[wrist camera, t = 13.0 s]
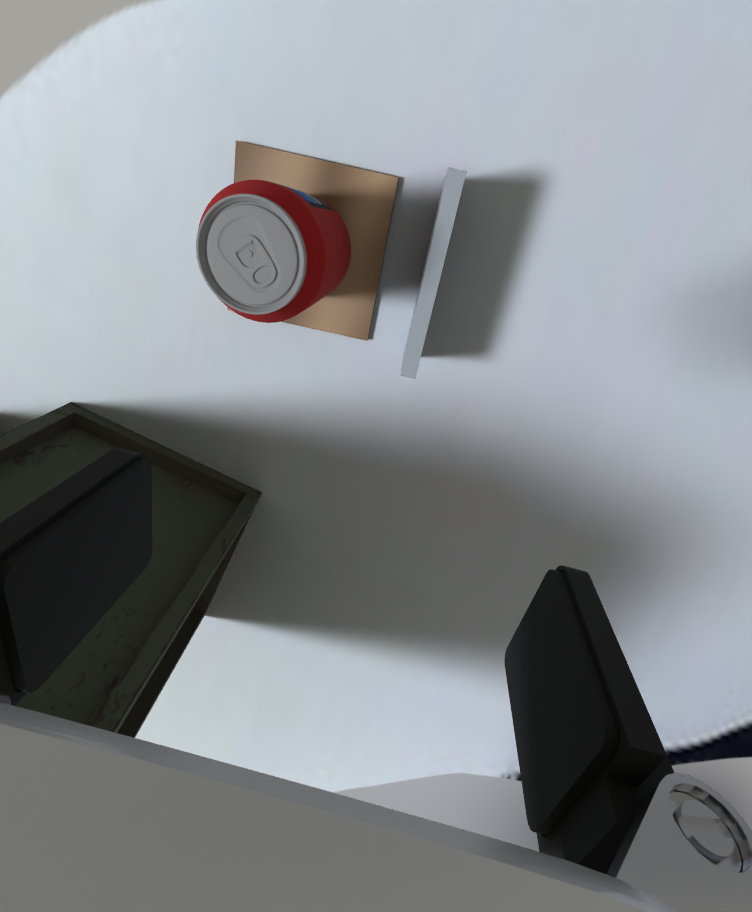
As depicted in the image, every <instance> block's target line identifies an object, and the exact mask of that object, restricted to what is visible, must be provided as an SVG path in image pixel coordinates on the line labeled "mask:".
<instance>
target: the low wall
mask: <svg viewBox="0 0 752 912" xmlns="http://www.w3.org/2000/svg"><path fill="white" fill-rule="evenodd" d="M466 172H467V171H462V170H458V169H453V168H448V171H447V173H446V176H445V178H444V182H443V186H442V190H441V195H440V199H439V203H438V208H437V212H436V216H435V221H434V225H433V229H432V234H431V238H430V243H429V247H428V251H427V256H426V260H425V264H424V269H423V273H422V277H421V282H420V286H419V290H418V295H417V299H416V303H415V308H414V312H413V316H412V321H411V325H410V329H409V334H408V338H407V342H406V347H405V351H404V356H403V363H402V370H401V376H404V377H409V378H413V379H415V378H416V374H417V370H418V366H419V362H420V358H421V354H422V350H423V346H424V341H425V337H426V333H427V329H428V325H429V321H430V317H431V313H432V309H433V305H434V301H435V297H436V293H437V289H438V285H439V281H440V277H441V273H442V269H443V265H444V261H445V257H446V253H447V249H448V245H449V241H450V237H451V233H452V229H453V225H454V221H455V217H456V213H457V209H458V204H459V200H460V196H461V192H462V188H463V184H464V180H465V176H466Z"/></svg>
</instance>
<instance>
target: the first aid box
mask: <svg viewBox="0 0 752 912" xmlns="http://www.w3.org/2000/svg"><path fill="white" fill-rule="evenodd" d="M114 448H122V449H125V450H129V451H133V452H137V453H140V454H143V455H144V456H145V458H146V462H149V463H150V464H151V467H152V549H153V551H152V557H151V560H150V562H149V564H148V566H147V567H146V568H145V570H144V571H143V572H142V573H141V574H140V575H139V576H138V577H137V579H136V580H135V581H134V582H133V583H132V584H131V585H130V586H129V588H128V589H127V590H126V591H125V592H124V593H123V594H122V596H121V597H120V598H119V599H118V600H117V601H116V602H115V603H114V605H113V606H112V607H111V608H110V609H109V610H108V611H107V612H106V614H105V615H104V616H103V617H102V618H101V619H100V620H99V622H98V623H97V624H96V625H95V626H94V627H93V628H92V629H91V631H90V632H89V633H88V634H87V635H86V636H85V637H84V639H83V640H82V641H81V642H80V643H79V644H78V645H77V646H76V648H75V649H74V650H73V651H72V652H71V653H70V654H69V655H68V657H67V658H66V659H65V660H64V661H63V662H62V663H61V665H60V666H59V667H58V668H57V669H56V670H55V671H54V672H53V674H52V675H51V676H50V677H49V678H48V679H47V680H46V681H45V683H44V684H43V685H42V686H41V687H40V688H39V689H38V690H36V691H35V692H32V693H28V692H27V693H26V694H25V695H24V697H23V698H22V699H21V700H20V701H19V702H18V703H17V704H16V705H15V706H16V707H20V708H24V709H28V710H32V711H36V712H40V713H44V714H47V715H51V716H55V717H58V718H62V719H66V720H70V721H73V722H77V723H81V724H84V725H88V726H92V727H95V728H99V729H103V730H107V731H110V732H114V733H118V734H121V735H125V736H129V737H132V738H135V736H136V735H137V733H138V731H139V729H140V728H141V726H142V724H143V722H144V721H145V719H146V717H147V715H148V714H149V712H150V710H151V708H152V707H153V705H154V703H155V701H156V700H157V698H158V696H159V694H160V693H161V691H162V689H163V687H164V686H165V684H166V682H167V680H168V679H169V677H170V675H171V673H172V671H173V670H174V668H175V666H176V664H177V663H178V661H179V659H180V657H181V656H182V654H183V652H184V650H185V649H186V647H187V645H188V643H189V642H190V640H191V638H192V636H193V635H194V633H195V631H196V629H197V628H198V626H199V624H200V622H201V621H202V619H203V617H204V615H205V613H206V611H207V609H208V607H209V604H210V602H211V600H212V598H213V596H214V594H215V592H216V589H217V587H218V585H219V583H220V581H221V579H222V577H223V574H224V572H225V570H226V568H227V566H228V564H229V562H230V559H231V557H232V555H233V553H234V551H235V549H236V547H237V544H238V542H239V540H240V538H241V536H242V534H243V532H244V529H245V527H246V525H247V523H248V521H249V519H250V517H251V514H252V512H253V510H254V508H255V506H256V504H257V502H258V499H259V497H260V495H261V492H259V491H257V490H255V489H253V488H251V487H249V486H247V485H244V484H242V483H240V482H238V481H236V480H234V479H232V478H230V477H228V476H226V475H223V474H221V473H219V472H217V471H215V470H213V469H211V468H209V467H207V466H204V465H202V464H200V463H198V462H196V461H194V460H192V459H190V458H187V457H185V456H183V455H181V454H179V453H177V452H175V451H173V450H171V449H168V448H166V447H164V446H162V445H160V444H158V443H156V442H154V441H152V440H150V439H148V438H146V437H143V436H141V435H139V434H137V433H135V432H133V431H131V430H129V429H127V428H124V427H122V426H120V425H118V424H116V423H114V422H112V421H110V420H108V419H105V418H103V417H101V416H99V415H97V414H95V413H93V412H91V411H89V410H86V409H84V408H82V407H80V406H78V405H76V404H74V403H72V402H70V403H68V404H66V405H64V406H62V407H60V408H58V409H56V410H54V411H51V412H49V413H47V414H45V415H43V416H41V417H39V418H37V419H35V420H33V421H31V422H29V423H27V424H24V425H22V426H20V427H18V428H16V429H14V430H12V431H10V432H8V433H6V434H4V435H2V436H0V523H1V522H2V521H4V520H5V519H7V518H8V517H10V516H12V515H13V514H15V513H16V512H18V511H19V510H21V509H22V508H24V507H25V506H27V505H28V504H30V503H31V502H33V501H34V500H36V499H37V498H39V497H40V496H42V495H44V494H45V493H47V492H48V491H50V490H51V489H53V488H54V487H56V486H57V485H59V484H60V483H62V482H63V481H65V480H66V479H68V478H69V477H71V476H72V475H74V474H76V473H77V472H79V471H80V470H82V469H83V468H85V467H86V466H88V465H89V464H91V463H92V462H94V461H95V460H97V459H98V458H100V457H101V456H103V455H104V454H106V453H108V452H109V451H111V450H112V449H114Z"/></svg>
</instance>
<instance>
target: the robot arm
mask: <svg viewBox="0 0 752 912" xmlns="http://www.w3.org/2000/svg"><path fill="white" fill-rule="evenodd" d="M152 551H153V549H152V467H151V464H150V463H149V462H146V458H145V456H144V455H143V454H140V453H137V452H133V451H129V450H125V449H122V448H114V449H112V450H111V451H109V452H108V453H106V454H104V455H103V456H101V457H100V458H98V459H97V460H95V461H94V462H92V463H91V464H89V465H88V466H86V467H85V468H83V469H82V470H80V471H79V472H77V473H76V474H74V475H72V476H71V477H69V478H68V479H66V480H65V481H63V482H62V483H60V484H59V485H57V486H56V487H54V488H53V489H51V490H50V491H48V492H47V493H45V494H44V495H42V496H40V497H39V498H37V499H36V500H34V501H33V502H31V503H30V504H28V505H27V506H25V507H24V508H22V509H21V510H19V511H18V512H16V513H15V514H13V515H12V516H10V517H8V518H7V519H5V520H4V521H2V522H1V523H0V912H752V831H751V829H750V827H749V826H748V824H747V823H746V822H745V820H744V819H743V818H742V817H741V815H740V814H739V813H738V811H737V810H736V809H735V808H734V807H733V806H732V805H731V804H730V803H729V802H728V801H727V800H726V799H725V798H724V797H723V796H722V795H721V794H720V793H719V792H717V791H716V790H714V789H713V788H712V787H710V786H709V785H707V784H706V783H705V782H703V781H701V780H699V779H696V778H694V777H692V776H690V775H686V774H681V773H674V771H673V769H672V766H671V764H670V762H669V759H668V757H667V755H666V752H665V750H664V748H663V745H662V743H661V741H660V738H659V736H658V734H657V731H656V729H655V727H654V724H653V722H652V720H651V717H650V715H649V713H648V710H647V708H646V706H645V703H644V701H643V699H642V696H641V694H640V692H639V689H638V687H637V685H636V682H635V680H634V678H633V675H632V673H631V671H630V668H629V666H628V664H627V661H626V659H625V657H624V655H623V652H622V650H621V648H620V645H619V643H618V641H617V638H616V636H615V634H614V631H613V629H612V627H611V624H610V622H609V620H608V617H607V615H606V613H605V610H604V608H603V606H602V603H601V601H600V599H599V596H598V594H597V592H596V589H595V587H594V585H593V582H592V580H591V578H590V576H589V574H588V573H587V572H585V571H581V570H577V569H573V568H570V567H566V566H559V567H557V568H556V570H552V569H551V570H549V571H548V572H547V573H546V575H545V577H544V579H543V581H542V583H541V585H540V586H539V588H538V590H537V592H536V594H535V596H534V598H533V600H532V602H531V604H530V605H529V607H528V609H527V611H526V613H525V615H524V617H523V619H522V621H521V622H520V624H519V626H518V628H517V630H516V632H515V634H514V636H513V638H512V640H511V641H510V643H509V645H508V647H507V650H506V653H505V669H506V676H507V683H508V690H509V697H510V704H511V711H512V718H513V725H514V732H515V739H516V746H517V752H518V759H519V766H520V773H521V780H522V787H523V794H524V801H525V808H526V815H527V821H528V825H529V827H530V829H531V831H533V832H536V833H537V838H538V845H539V851H540V852H537V851H534V850H531V849H527V848H524V847H521V846H517V845H514V844H511V843H507V842H504V841H501V840H498V839H494V838H491V837H488V836H484V835H481V834H478V833H474V832H470V831H467V830H464V829H460V828H456V827H453V826H449V825H446V824H442V823H439V822H435V821H431V820H428V819H424V818H421V817H418V816H414V815H410V814H407V813H403V812H400V811H396V810H393V809H389V808H386V807H382V806H379V805H375V804H372V803H368V802H364V801H361V800H357V799H354V798H350V797H347V796H343V795H340V794H336V793H332V792H329V791H325V790H322V789H318V788H314V787H311V786H307V785H304V784H300V783H296V782H293V781H289V780H286V779H282V778H278V777H275V776H271V775H267V774H264V773H260V772H257V771H253V770H249V769H246V768H242V767H239V766H235V765H231V764H228V763H224V762H220V761H217V760H213V759H209V758H206V757H202V756H199V755H195V754H191V753H188V752H184V751H180V750H177V749H173V748H169V747H166V746H162V745H158V744H155V743H151V742H147V741H144V740H140V739H136V738H132V737H129V736H125V735H121V734H118V733H114V732H110V731H107V730H103V729H99V728H95V727H92V726H88V725H84V724H81V723H77V722H73V721H70V720H66V719H62V718H58V717H55V716H51V715H47V714H44V713H40V712H36V711H32V710H28V709H24V708H20V707H16V706H15V705H16V704H17V703H18V702H19V701H20V700H21V699H22V698H23V697H24V695H25V694H26V693H27V692H28V693H32V692H35V691H36V690H38V689H39V688H40V687H41V686H42V685H43V684H44V683H45V681H46V680H47V679H48V678H49V677H50V676H51V675H52V674H53V672H54V671H55V670H56V669H57V668H58V667H59V666H60V665H61V663H62V662H63V661H64V660H65V659H66V658H67V657H68V655H69V654H70V653H71V652H72V651H73V650H74V649H75V648H76V646H77V645H78V644H79V643H80V642H81V641H82V640H83V639H84V637H85V636H86V635H87V634H88V633H89V632H90V631H91V629H92V628H93V627H94V626H95V625H96V624H97V623H98V622H99V620H100V619H101V618H102V617H103V616H104V615H105V614H106V612H107V611H108V610H109V609H110V608H111V607H112V606H113V605H114V603H115V602H116V601H117V600H118V599H119V598H120V597H121V596H122V594H123V593H124V592H125V591H126V590H127V589H128V588H129V586H130V585H131V584H132V583H133V582H134V581H135V580H136V579H137V577H138V576H139V575H140V574H141V573H142V572H143V571H144V570H145V568H146V567H147V566H148V564H149V562H150V560H151V557H152Z"/></svg>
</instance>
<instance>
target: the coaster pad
mask: <svg viewBox="0 0 752 912" xmlns="http://www.w3.org/2000/svg"><path fill="white" fill-rule="evenodd" d="M244 180H264V181H269V182H273V183H276V184H280V185H283V186H287V187H290V188H293V189H296V190H299V191H302V192H305V193H308V194H310V195H313V196H315V197H318V198H320V199H322V200H324V201H325V202H327V203H328V204H329V205H331V206H332V207H333V208H334V209H335V210H336V211H337V212H338V214H339V215H340V216H341V218H342V220H343V221H344V223H345V225H346V228H347V230H348V233H349V237H350V243H351V258H350V263H349V267H348V270H347V272H346V274H345V276H344V278H343V280H342V281H341V282H340V284H339V285H338V286H337V287H336V288H335V289H334V290H332V291H331V292H330V293H329V294H327V295H326V296H325V297H323V298H322V299H320V300H319V301H318V302H316V303H315V304H313V305H312V306H310V307H309V308H307V309H306V310H304V311H303V312H301V313H299V314H298V315H296V316H294V317H292V318H290V319H287V320H284V321H281V322H285V323H290V324H294V325H299V326H303V327H308V328H312V329H317V330H321V331H326V332H330V333H335V334H339V335H344V336H348V337H353V338H357V339H362V340H366V341H367V340H368V336H369V330H370V325H371V320H372V315H373V309H374V304H375V299H376V294H377V288H378V283H379V278H380V273H381V267H382V262H383V257H384V252H385V246H386V241H387V236H388V231H389V225H390V220H391V215H392V210H393V204H394V199H395V194H396V189H397V183H398V177H395V176H390V175H386V174H382V173H377V172H373V171H368V170H364V169H359V168H355V167H351V166H346V165H342V164H337V163H333V162H328V161H324V160H320V159H315V158H311V157H306V156H302V155H297V154H293V153H289V152H284V151H280V150H275V149H271V148H267V147H262V146H258V145H253V144H249V143H244V142H240V141H236V152H235V173H234V183H236V182H240V181H244ZM228 310H231V309H230V308H228Z"/></svg>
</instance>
